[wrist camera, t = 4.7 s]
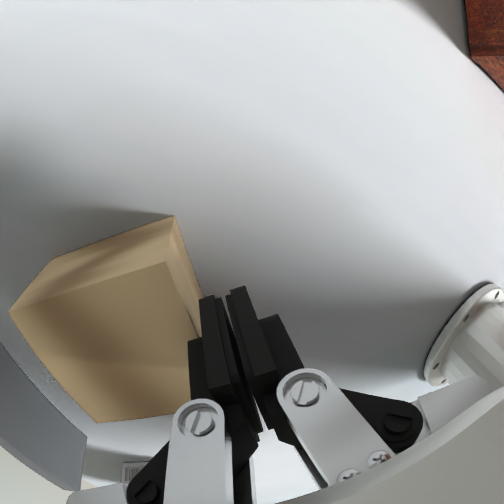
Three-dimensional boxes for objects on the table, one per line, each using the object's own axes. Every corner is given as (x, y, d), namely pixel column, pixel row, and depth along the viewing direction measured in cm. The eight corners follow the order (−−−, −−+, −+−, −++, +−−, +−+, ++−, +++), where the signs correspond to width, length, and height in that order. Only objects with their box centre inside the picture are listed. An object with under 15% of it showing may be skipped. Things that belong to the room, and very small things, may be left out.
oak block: (174, 214, 12) (165, 261, 8) (217, 331, 15) (230, 401, 11) (53, 257, 12) (7, 312, 7) (110, 357, 15) (96, 422, 10)
